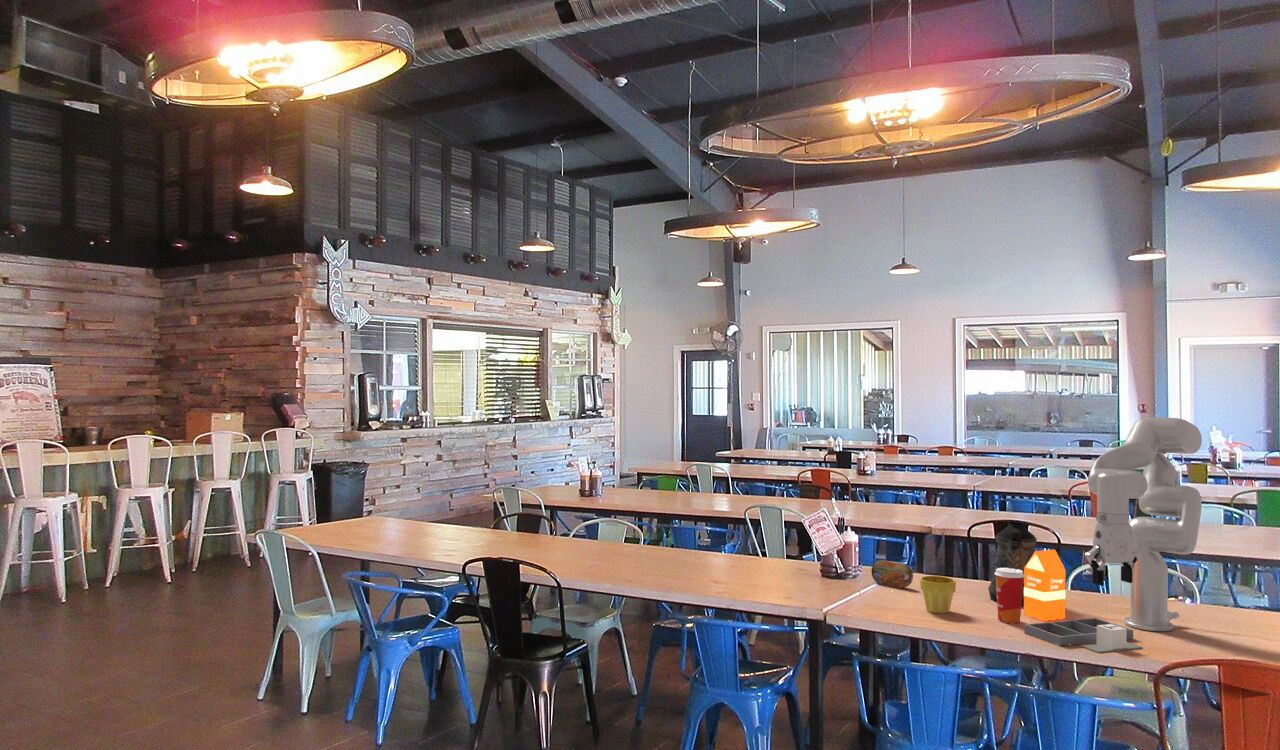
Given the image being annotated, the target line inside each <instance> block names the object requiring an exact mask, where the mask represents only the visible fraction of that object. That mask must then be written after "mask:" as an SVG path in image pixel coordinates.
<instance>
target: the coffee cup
mask: <svg viewBox="0 0 1280 750" xmlns="http://www.w3.org/2000/svg"><path fill="white" fill-rule="evenodd" d="M1015 570H1016V569H1013V568H1011V569H1010V568H997V569H996V572H995V575H996V591H997V602H996V606H997V619H998V621H999V620H1000V621H1002V622H1001V623H1003V622H1006V623H1005V624H1010V623H1017V624H1019V622H1020V623H1021V616H1022V615H1021V614H1022V606H1021V602H1022V588H1023V577H1025V576H1024V575H1023V571H1022V570H1019V569H1017V570H1016V571H1015ZM1000 621H999V622H1000Z"/></svg>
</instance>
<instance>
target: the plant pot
mask: <svg viewBox="0 0 1280 750" xmlns="http://www.w3.org/2000/svg"><path fill="white" fill-rule="evenodd" d="M956 582H957V581H956V579H954V578H952V577H949V576H941V575H924V576H921V577H920V578H919V586H920V587H919V588H920V590H921V591H922V594H923V599H924V604H925V608H926V609H925V610H926V611H927V612H929V613H933V614H947V613H950V609H951V605H952V602H953V601H952V600H953V597H954V596H953V595H954V593H955V592H956V591H957V590H956V589H957V587H956V586H957V585H956V584H957V583H956Z"/></svg>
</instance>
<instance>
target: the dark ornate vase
mask: <svg viewBox="0 0 1280 750" xmlns="http://www.w3.org/2000/svg"><path fill="white" fill-rule="evenodd" d="M1037 541H1038V539H1037V537H1036V536H1035V535H1034V534H1033V533H1032V532H1031V531H1030V530H1028V529H1027V528H1026V527H1025V525H1024V523H1022V522H1009V523H1008V525H1007V526H1006V527H1005V528H1004V529H1002V530H1001V531H999V532H998V533H996V535H995V542H996V543H997V548H996V553H995V554H996V555H995V559H994V568H993V573H992V577H991V581H990V584H989V586H988V589H987V590H988V593H989V598H990V600H991V601H992V602H994V603H997V591H996V575H995V572H996V569H997V568H1010V569H1011V568H1013V569H1016V570H1017V569H1019V570H1022V571H1023V575H1024V567H1025V566H1026V565H1027V563H1028V562H1029V560H1030V559H1031V557H1032V556H1033V554H1034V553H1035V551H1036V549H1035V547H1036V544H1037ZM1016 570H1015V571H1016ZM1021 607H1024V577H1023V588H1022V602H1021Z"/></svg>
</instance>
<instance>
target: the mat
mask: <svg viewBox="0 0 1280 750" xmlns="http://www.w3.org/2000/svg"><path fill="white" fill-rule="evenodd" d="M1079 645H1080V646H1082V647H1081V648H1083V647H1085V648H1087V649H1086V650H1088V649H1089V650H1088V651H1091V652H1094V653H1098V654H1101V653H1103V654H1104V653H1113V652H1121V651H1122V650H1123V651H1130V649H1133V650H1140V649H1141V648H1142V649H1143V646H1141V645H1137V644H1135V643H1132V642H1129V641H1126V648H1120V649H1109V648H1106V647H1103V646H1101V645H1098V644H1097V643H1089V644H1079ZM1085 648H1084V649H1085Z"/></svg>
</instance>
